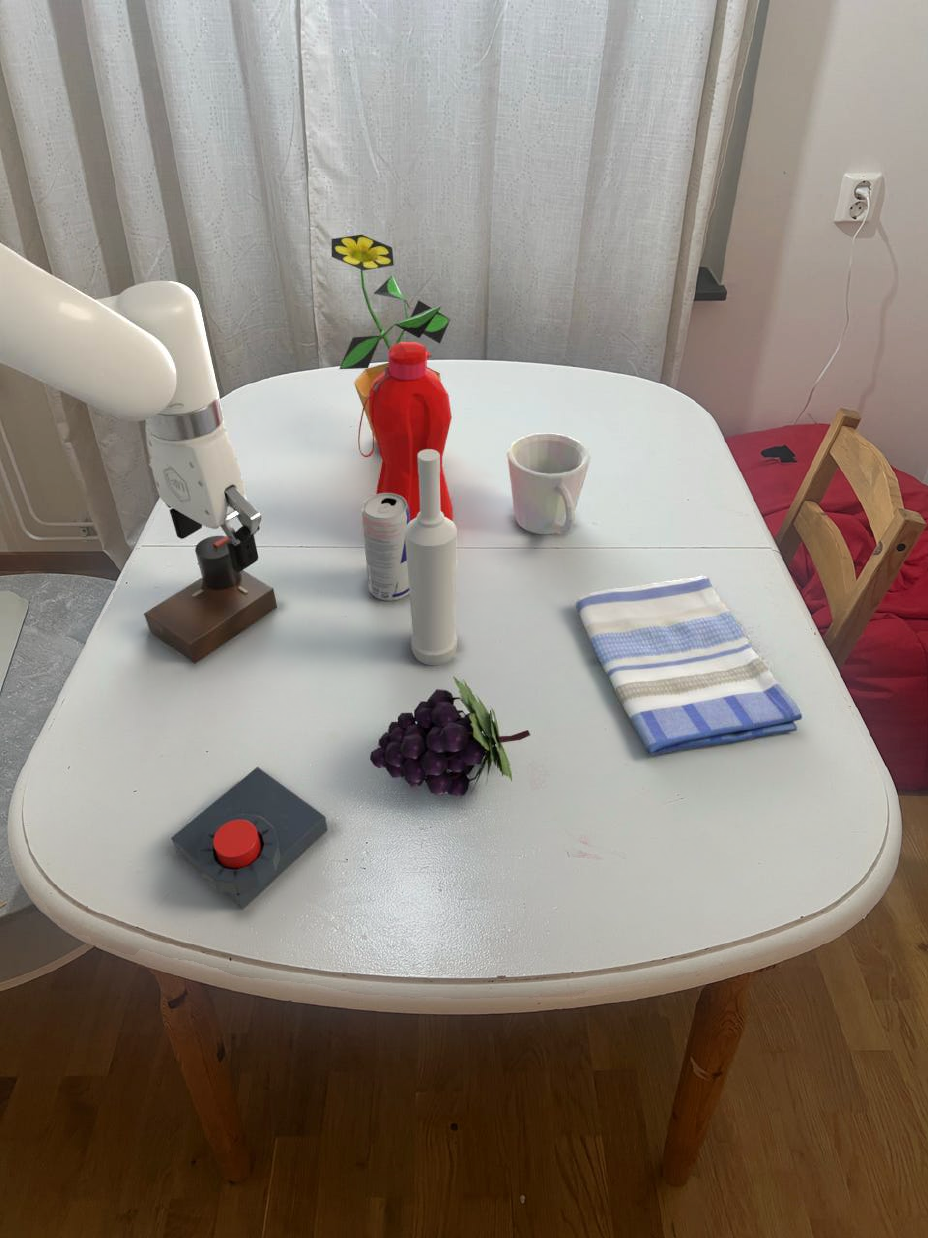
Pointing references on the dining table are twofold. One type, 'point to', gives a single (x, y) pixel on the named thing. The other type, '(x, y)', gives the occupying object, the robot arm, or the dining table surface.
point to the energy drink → (386, 545)
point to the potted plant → (362, 349)
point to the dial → (216, 563)
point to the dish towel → (683, 666)
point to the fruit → (443, 743)
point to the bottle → (431, 569)
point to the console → (209, 615)
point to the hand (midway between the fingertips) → (217, 548)
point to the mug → (547, 481)
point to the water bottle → (408, 423)
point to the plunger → (237, 843)
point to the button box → (279, 826)
